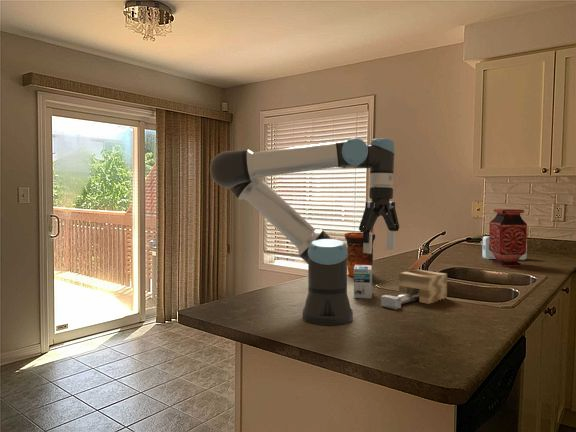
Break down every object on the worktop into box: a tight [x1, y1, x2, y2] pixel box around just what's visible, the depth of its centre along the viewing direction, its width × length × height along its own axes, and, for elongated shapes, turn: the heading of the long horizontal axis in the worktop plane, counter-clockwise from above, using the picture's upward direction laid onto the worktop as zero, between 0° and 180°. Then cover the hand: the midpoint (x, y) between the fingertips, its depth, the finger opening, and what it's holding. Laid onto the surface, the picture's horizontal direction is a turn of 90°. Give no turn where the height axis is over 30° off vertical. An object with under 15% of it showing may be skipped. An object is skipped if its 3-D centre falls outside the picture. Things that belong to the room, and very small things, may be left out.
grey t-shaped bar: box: [380, 291, 420, 310], centre depth 147 cm, size 17×6×3 cm, turn 130°
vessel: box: [344, 231, 376, 278], centre depth 201 cm, size 14×14×20 cm
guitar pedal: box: [481, 235, 528, 261], centre depth 253 cm, size 23×6×13 cm, turn 86°
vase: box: [488, 208, 528, 267], centre depth 229 cm, size 14×14×30 cm
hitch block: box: [398, 269, 448, 305], centre depth 155 cm, size 12×12×9 cm
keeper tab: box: [406, 253, 433, 272], centre depth 158 cm, size 9×6×1 cm
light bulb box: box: [353, 264, 373, 300], centre depth 159 cm, size 11×7×11 cm, turn 168°
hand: (379, 251), depth 140 cm, fingers open, 13 cm apart
